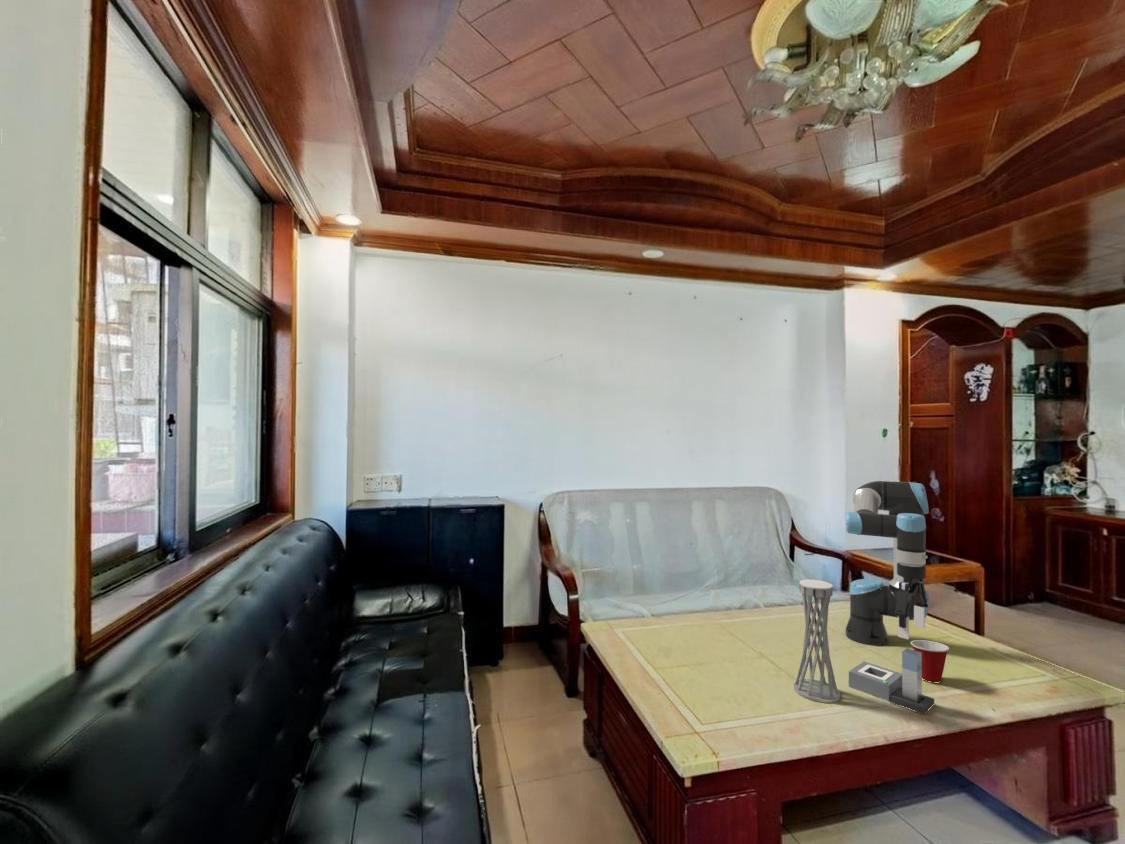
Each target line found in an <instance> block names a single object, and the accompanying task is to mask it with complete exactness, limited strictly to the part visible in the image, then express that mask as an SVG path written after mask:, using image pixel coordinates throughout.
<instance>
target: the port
mask: <svg viewBox="0 0 1125 844" xmlns="http://www.w3.org/2000/svg"><path fill="white" fill-rule="evenodd" d="M848 687H849V688H852V689H854V690H857V691H860V692H862V691H863V693H865V692H866V693H865V694H868V693H869V694H868V695H870V694H872V695H871V696H873V695H875V696H874V697H876V696H877V697H876V698H879V697H881V698H883V699H882V700H884V699H886V700H885V701H887V700H890V696H891V695H892V694H894V693H895V692H896V691H897V690H898V689H900V688H901V687H902V673H901V672H898V671H895V670H891V669H888V668H885V667H882V666H880V665H876V664H873V663H870V662H867V661H862V662H860V663H859V664H857V665H856V666H854V667H853V668H851V669H850V670H849V671H848ZM881 698H880V699H881Z"/></svg>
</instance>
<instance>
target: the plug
mask: <svg viewBox="0 0 1125 844" xmlns="http://www.w3.org/2000/svg"><path fill="white" fill-rule="evenodd" d="M901 658H902V659H901V660H902V661H901V667H902V668H901V670H902V671H901V672H902V673H901V674H902V698H904V699H907V700H910V701H913V702H915V703H918V704H919V703H920V702H922V695H923V692H922V691H923V684H922V683H923V680H922V653H921V652H918V651H914V649H910V648H905V649H904V650H902V651H901Z"/></svg>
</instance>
